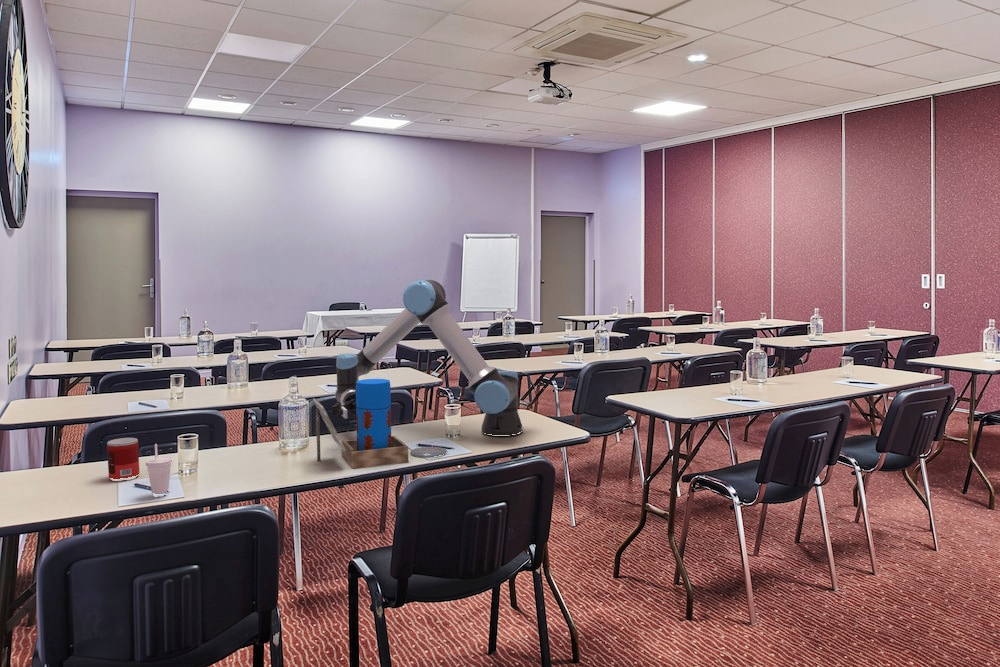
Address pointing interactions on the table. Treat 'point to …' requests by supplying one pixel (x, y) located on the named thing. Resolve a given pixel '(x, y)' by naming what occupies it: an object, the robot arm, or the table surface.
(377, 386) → the thermos
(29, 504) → the table surface
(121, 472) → the canned food
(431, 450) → the disc
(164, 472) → the smoothie
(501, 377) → the robot arm
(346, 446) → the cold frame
